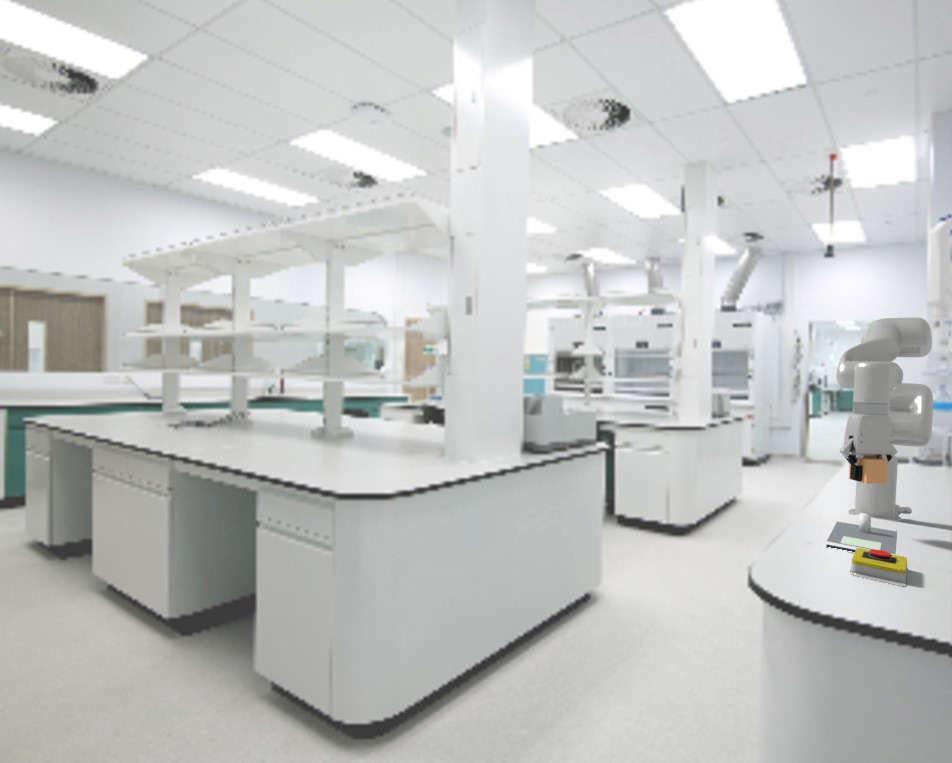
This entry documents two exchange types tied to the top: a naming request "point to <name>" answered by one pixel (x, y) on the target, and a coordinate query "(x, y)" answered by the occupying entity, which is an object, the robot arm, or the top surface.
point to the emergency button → (879, 566)
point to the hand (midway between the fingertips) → (867, 479)
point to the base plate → (863, 536)
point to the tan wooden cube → (873, 470)
